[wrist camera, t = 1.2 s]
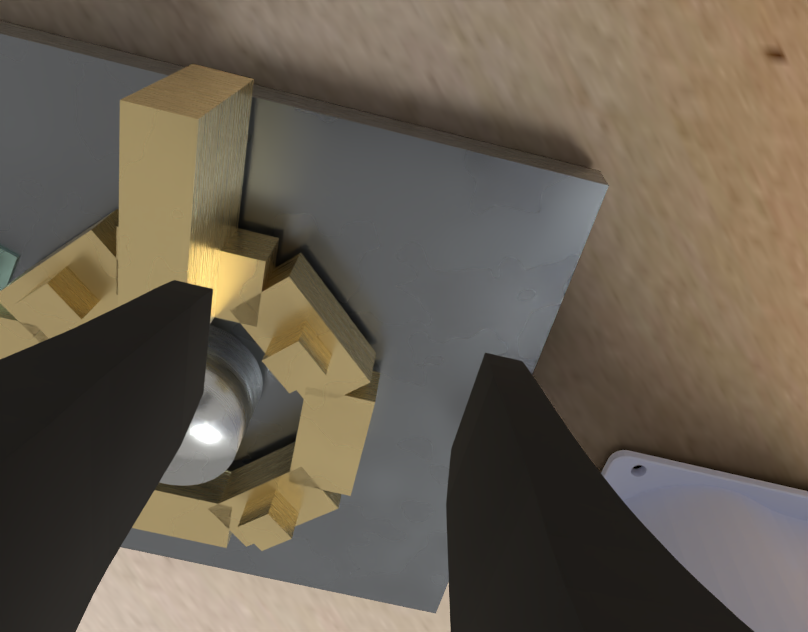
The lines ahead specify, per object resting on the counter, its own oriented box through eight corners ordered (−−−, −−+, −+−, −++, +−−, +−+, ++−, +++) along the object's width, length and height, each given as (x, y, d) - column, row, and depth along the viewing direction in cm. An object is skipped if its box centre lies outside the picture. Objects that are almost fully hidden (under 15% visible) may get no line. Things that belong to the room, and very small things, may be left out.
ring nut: (338, 535, 24) (317, 637, 20) (31, 469, 23) (-44, 563, 20) (444, 126, 16) (440, 179, 13) (-6, 13, 16) (-136, 37, 12)
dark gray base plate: (600, 171, 18) (633, 227, 15) (436, 587, 27) (433, 682, 24) (-145, -16, 17) (-299, -3, 14) (-58, 482, 26) (-137, 566, 23)
